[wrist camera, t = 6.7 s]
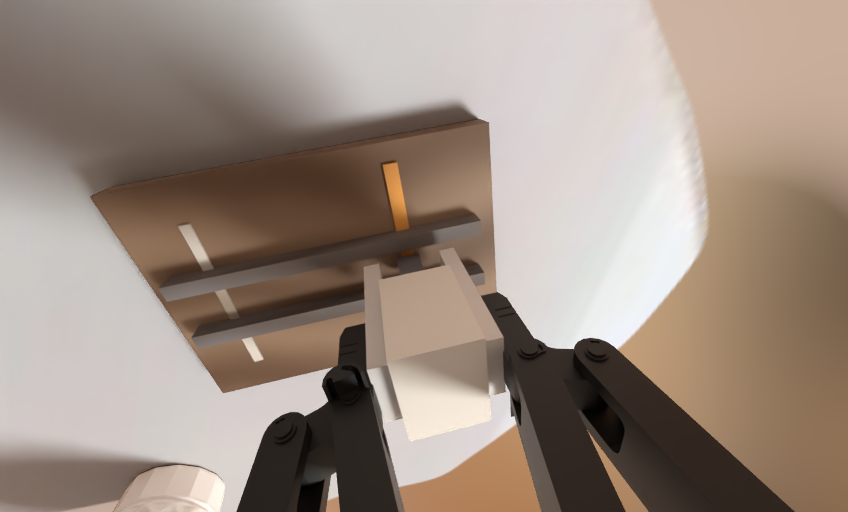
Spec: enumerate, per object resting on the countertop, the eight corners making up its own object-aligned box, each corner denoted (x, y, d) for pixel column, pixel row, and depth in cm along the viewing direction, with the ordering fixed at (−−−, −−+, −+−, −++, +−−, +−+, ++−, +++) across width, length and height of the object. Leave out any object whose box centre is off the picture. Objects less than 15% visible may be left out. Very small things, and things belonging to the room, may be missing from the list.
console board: (112, 186, 16) (72, 204, 13) (478, 119, 17) (496, 125, 15) (231, 374, 22) (217, 406, 20) (490, 313, 23) (503, 337, 21)
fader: (374, 238, 17) (386, 361, 10) (431, 226, 17) (485, 338, 10) (389, 300, 19) (409, 441, 12) (440, 289, 19) (491, 420, 12)
